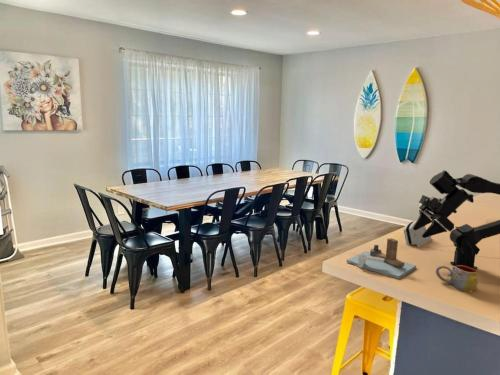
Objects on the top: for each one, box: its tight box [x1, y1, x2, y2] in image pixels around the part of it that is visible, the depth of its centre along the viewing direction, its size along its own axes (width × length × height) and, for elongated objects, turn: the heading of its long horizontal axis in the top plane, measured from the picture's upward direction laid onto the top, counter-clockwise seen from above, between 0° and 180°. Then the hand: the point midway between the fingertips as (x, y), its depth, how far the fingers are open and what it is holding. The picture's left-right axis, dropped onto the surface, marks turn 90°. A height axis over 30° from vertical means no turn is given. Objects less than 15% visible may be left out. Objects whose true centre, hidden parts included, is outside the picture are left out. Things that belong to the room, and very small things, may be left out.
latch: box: [369, 238, 405, 267], centre depth 138 cm, size 14×4×8 cm, turn 26°
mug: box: [435, 265, 479, 293], centre depth 121 cm, size 12×7×7 cm, turn 50°
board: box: [346, 250, 417, 280], centre depth 137 cm, size 20×14×1 cm
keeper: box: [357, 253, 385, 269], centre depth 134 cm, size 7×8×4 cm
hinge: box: [403, 220, 432, 249], centre depth 165 cm, size 17×5×10 cm, turn 136°
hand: (418, 233), depth 137 cm, fingers open, 9 cm apart
